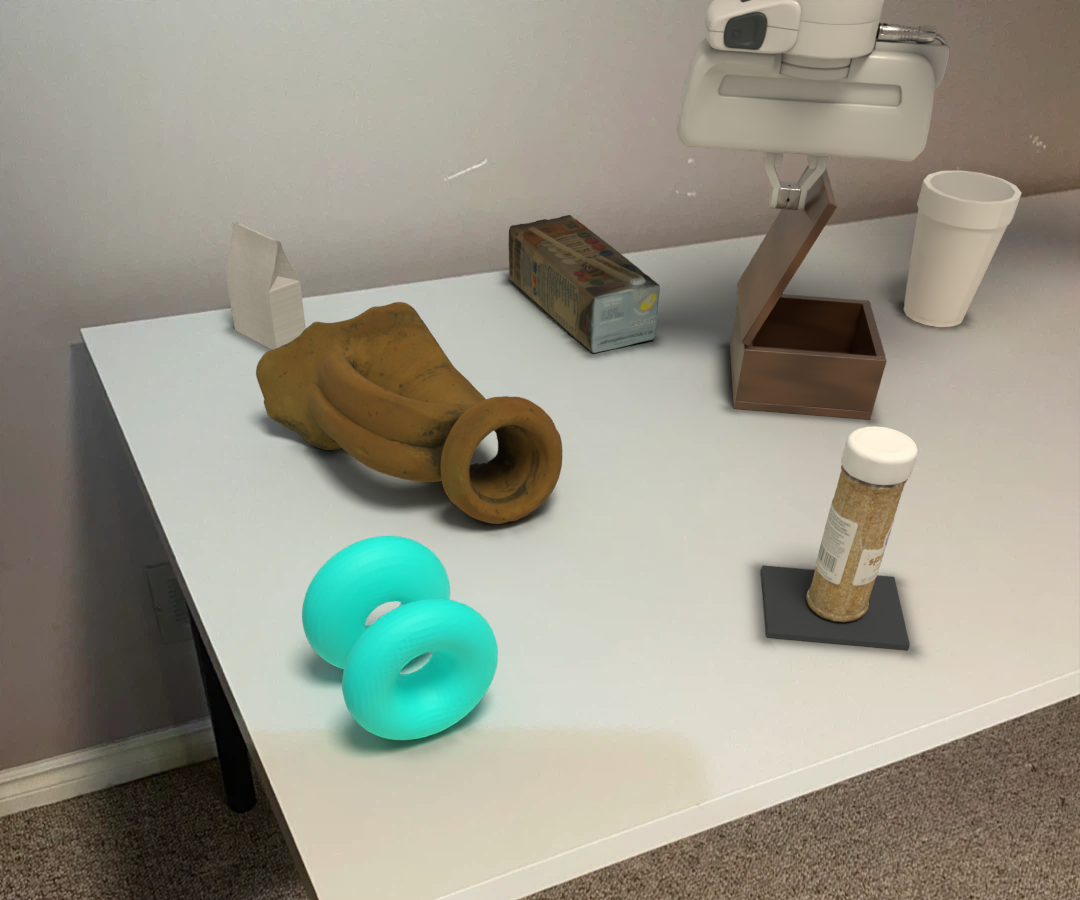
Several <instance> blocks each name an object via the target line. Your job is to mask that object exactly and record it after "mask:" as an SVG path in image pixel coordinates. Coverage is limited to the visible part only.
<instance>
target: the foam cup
mask: <svg viewBox="0 0 1080 900" xmlns="http://www.w3.org/2000/svg"><path fill="white" fill-rule="evenodd" d="M1021 197H1022V191H1021V190H1020V189H1019V187H1018V186H1017V185H1016V184H1014V183H1012V182H1010V181H1008V180H1006V179H1003V178H1001V177H997V176H994V175H992V174H991V175H990V174H987V173H984V172H977V171H969V170H962V169H961V170H957V169H956V170H940V171H936V172H933V173H929V174H927V175H926V177H925V178H924V179H923V181H922V184H921V187H920V191H919V195H918V198H917V203H916V206H917V215H916V220H915V226H914V227H915V228H914V235H913V240H912V241H913V242H912V249H911V254H910V255H911V256H910V261H909V268H908V275H907V280H906V281H907V282H906V288H905V289H906V290H905V296H904V302H903V304H904V306H903V312H904V314H905V316H906V317H907V318H909V319H911V320H912V321H913V322H916V323H919V324H921V325H924V326H929V327H934V328H935V327H936V328H951V327H955V326H958V325H960V324H962V322H963V320H964V318H965V316H966V314H967V313H968V310H969V308H970V306H971V305H972V302H973V300H974V299H975V295H976V294H977V291H978V289H979V288H980V285H981V283H982V280H983V278H984V277H985V274H986V272H987V270H988V268H989V267H990V263H991V262H992V260H993V257H994V255H995V253H996V251H997V249H998V246H999V245H1000V242H1001V240H1002V238H1003V236H1004V234H1005V233H1006V230H1007V228H1008V225H1010V224H1011V223H1012V220H1013V219H1014V217H1015V214H1016V211H1017V209H1018V205H1019V202H1020V199H1021Z"/></svg>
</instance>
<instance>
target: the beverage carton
mask: <svg viewBox="0 0 1080 900" xmlns="http://www.w3.org/2000/svg"><path fill="white" fill-rule="evenodd" d="M508 272H509V273H508V275H509V280H510V281H512V282H513V284H515V286H517V287H518V288H519V289H520V290H521V291H522V292H524V293H525V294H526V295H527V296H528V297H529V298H530V299H531V300H532V301H533V302H534V303H536V304H537V305H538V307H540V308H541V309H542V310H543V311H545V312H546V313H547V314H548V315H549V316H550V317H551V318H552V319H553V320H555V322H557V323H558V324H559V325H560V326H561V327H562V328H563V329H564V330H565V331H566V332H568V333H569V334H570V335H571V336H573V338H574V339H576V340H577V341H578V342H580V343H581V344H582V345H583V347H585V348H586V349H587V350H588V351H589V352H590V353H592V354H596V353H601V352H606V351H609V350H615V349H618V348H619V349H620V348H623V347H626V346H630V345H635V344H638V343H644V342H648V341H651V340H655V338H656V329H657V328H656V327H657V324H658V316H659V315H658V313H659V310H658V309H659V299H660V291H661V286H660V284H659V283H657V282H656V281H655V280H654V279H653V278H651V277H650V276H649V275H648V274H646V273H644V271H643V270H642V269H640V267H638V266H637V265H635V264H634V263H633V262H632V261H631V260H630V259H628V258H627V257H625V256H624V255H623V254H622V253H621V252H619V251H618V250H617V249H615V248H614V247H613V246H611V244H609V243H607V242H606V241H605V240H604V239H602V238H601V237H600V236H599V235H597V234H596V233H595V232H593V231H592V230H591V229H590V228H589V227H588V226H586V225H584V224H583V223H582V222H581V221H579V220H578V219H576V218H574V217H573V215H571V214H567V215H562V216H560V217H553V218H549V219H545V218H544V219H539V220H535V221H531V222H526V223H519V224H518V223H517V224H512V225H510V226H509V227H508Z"/></svg>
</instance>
